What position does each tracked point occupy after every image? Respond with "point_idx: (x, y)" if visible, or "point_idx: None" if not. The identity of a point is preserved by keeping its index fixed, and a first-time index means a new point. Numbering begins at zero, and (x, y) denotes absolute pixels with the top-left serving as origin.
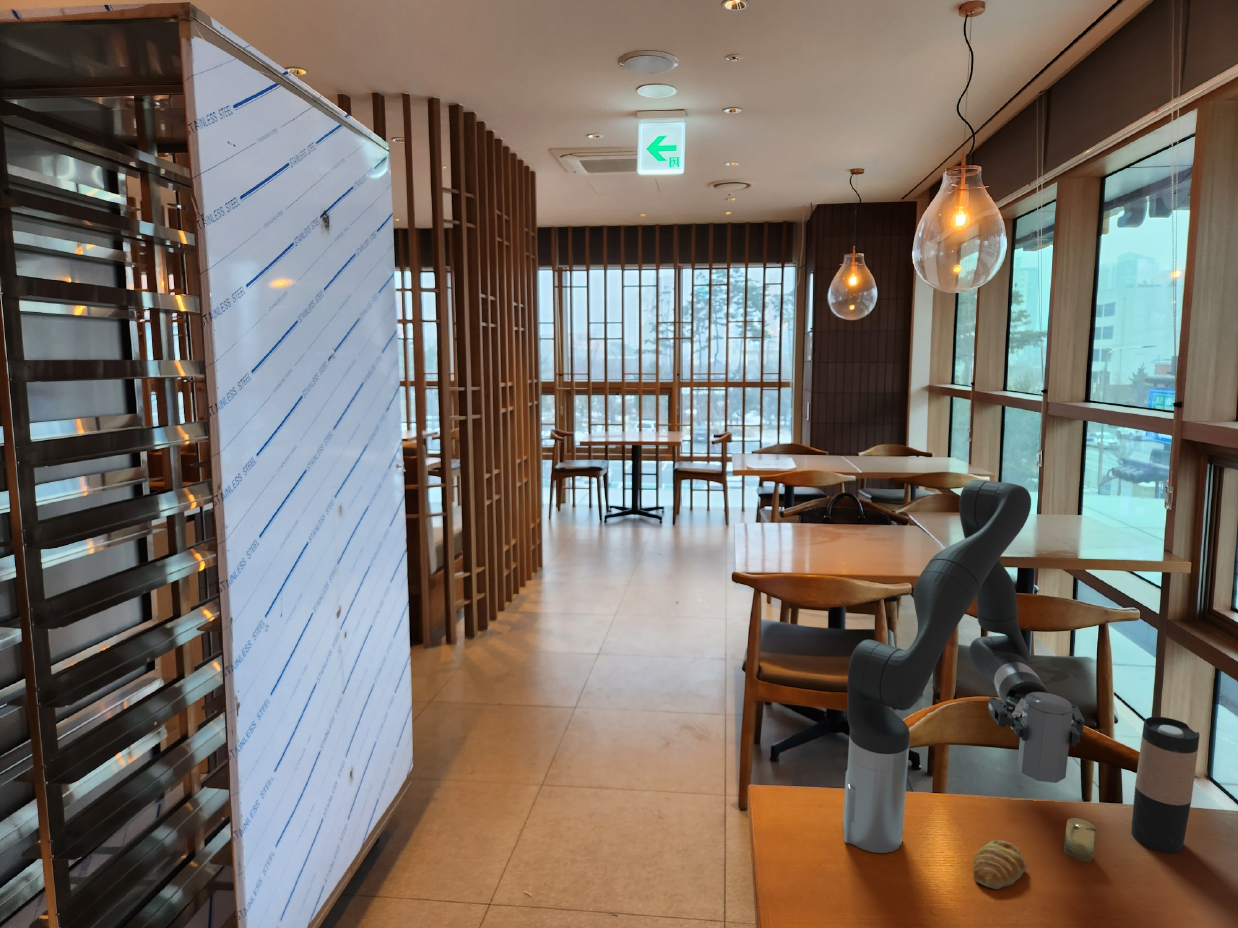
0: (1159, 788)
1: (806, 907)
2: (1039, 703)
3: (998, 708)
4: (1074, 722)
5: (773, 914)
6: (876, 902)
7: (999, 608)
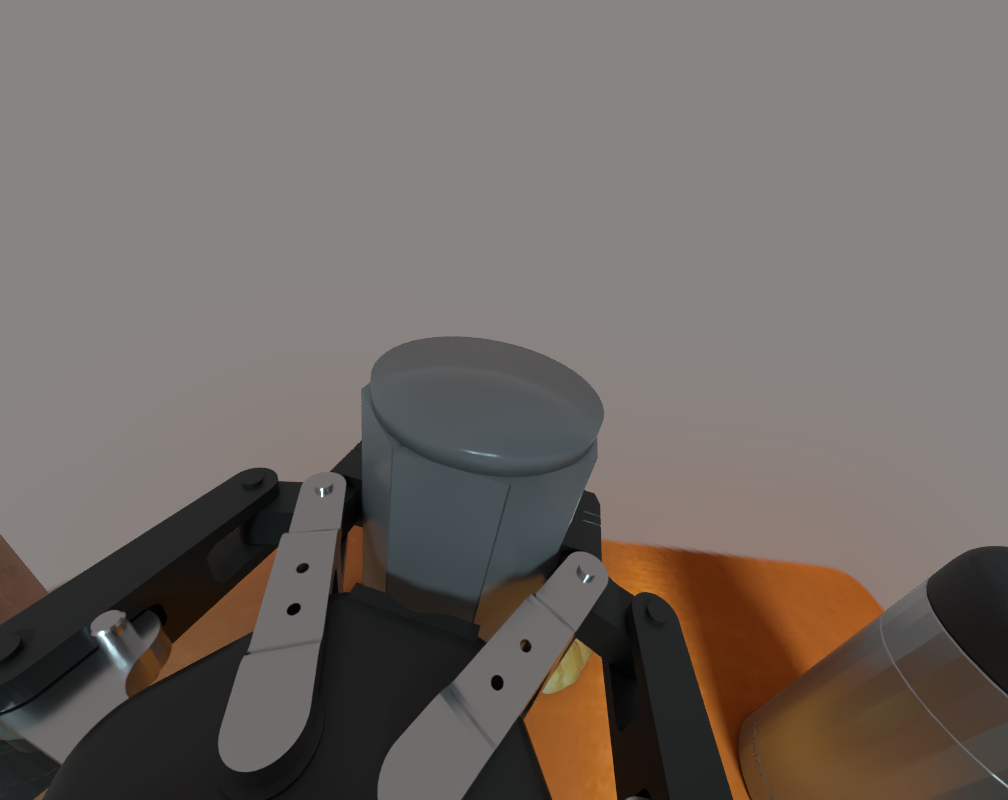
0: (29, 581)
1: (820, 582)
2: (551, 379)
3: (682, 669)
4: (284, 501)
5: (850, 575)
6: (737, 581)
7: None
